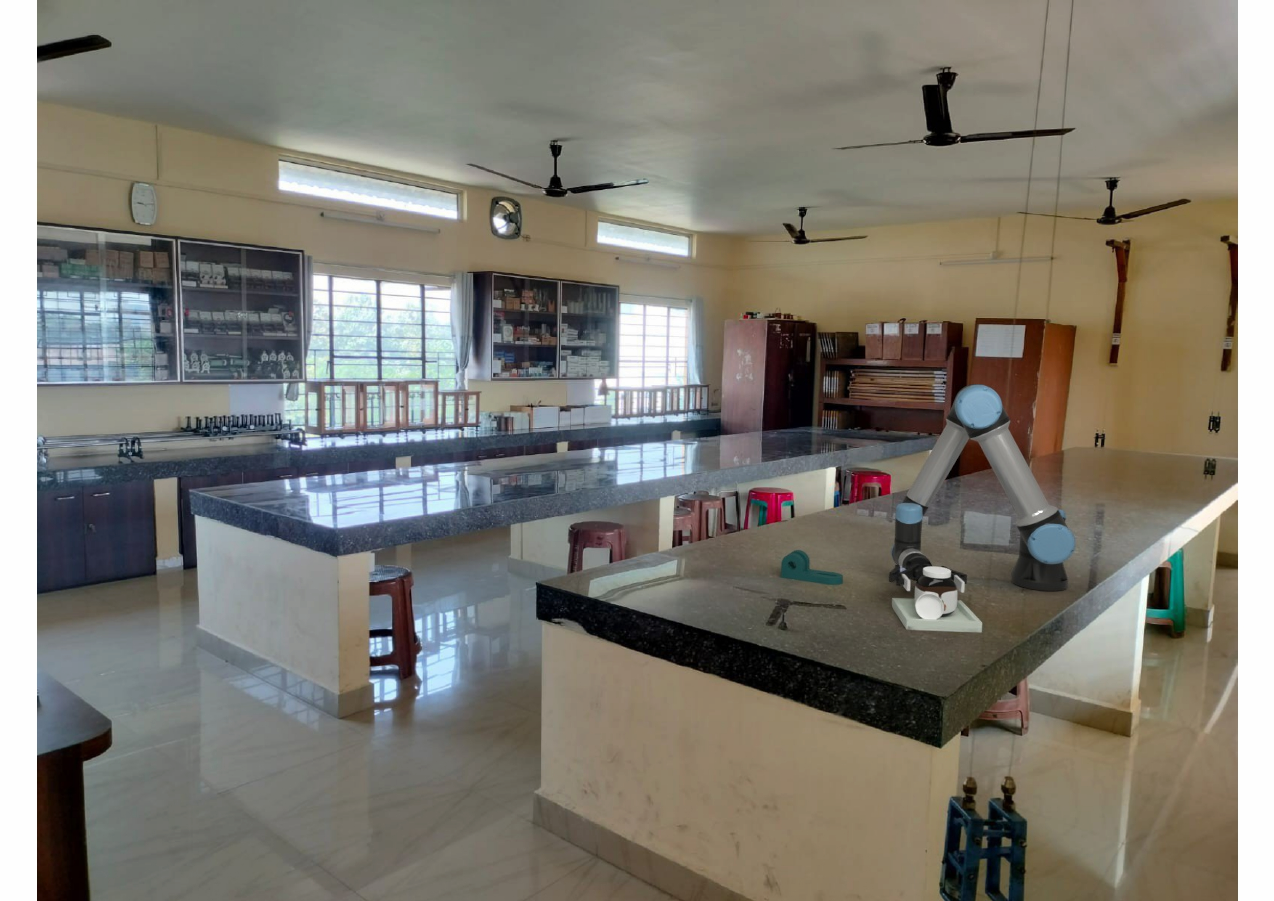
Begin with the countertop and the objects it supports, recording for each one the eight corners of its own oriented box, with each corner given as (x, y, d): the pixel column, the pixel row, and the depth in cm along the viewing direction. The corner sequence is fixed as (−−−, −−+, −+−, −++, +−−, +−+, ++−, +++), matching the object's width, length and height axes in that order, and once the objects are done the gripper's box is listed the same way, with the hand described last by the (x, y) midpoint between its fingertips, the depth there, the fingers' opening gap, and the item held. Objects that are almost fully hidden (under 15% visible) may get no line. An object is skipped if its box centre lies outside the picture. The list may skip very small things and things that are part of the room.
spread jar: (947, 608, 211) (949, 565, 210) (966, 622, 200) (968, 577, 199) (903, 608, 211) (905, 566, 209) (919, 622, 200) (921, 578, 198)
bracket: (781, 578, 244) (781, 553, 243) (788, 573, 250) (788, 548, 249) (838, 586, 235) (839, 560, 234) (845, 581, 241) (846, 555, 240)
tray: (960, 609, 213) (961, 600, 213) (981, 632, 196) (982, 622, 195) (891, 606, 216) (892, 597, 215) (906, 629, 198) (906, 619, 197)
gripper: (959, 578, 225) (984, 602, 204) (870, 576, 228) (885, 599, 207) (961, 553, 225) (986, 573, 204) (870, 551, 227) (886, 571, 206)
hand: (935, 586), depth 205 cm, fingers open, 13 cm apart
